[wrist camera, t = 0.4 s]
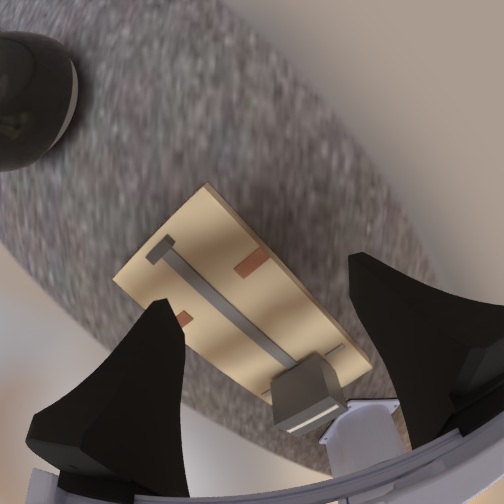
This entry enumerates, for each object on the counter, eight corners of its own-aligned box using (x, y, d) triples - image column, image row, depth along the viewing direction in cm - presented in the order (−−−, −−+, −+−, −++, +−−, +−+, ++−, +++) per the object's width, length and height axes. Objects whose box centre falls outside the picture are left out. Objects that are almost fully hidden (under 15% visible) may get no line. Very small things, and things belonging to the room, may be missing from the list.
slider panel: (366, 354, 26) (376, 374, 24) (288, 403, 29) (291, 424, 26) (206, 182, 20) (200, 189, 17) (121, 268, 22) (107, 285, 20)
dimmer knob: (335, 370, 24) (349, 411, 19) (290, 397, 25) (297, 438, 20) (316, 353, 23) (329, 396, 18) (270, 382, 24) (274, 426, 19)
